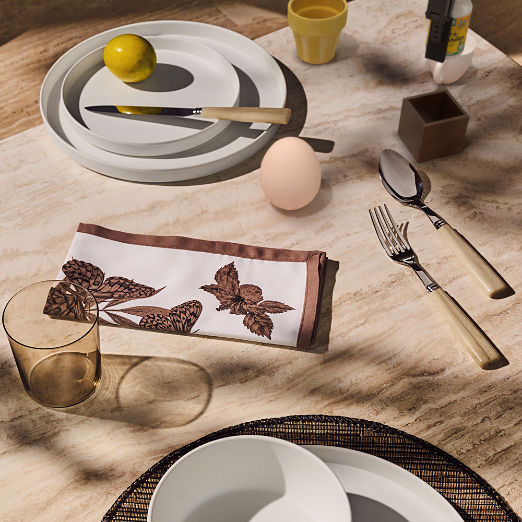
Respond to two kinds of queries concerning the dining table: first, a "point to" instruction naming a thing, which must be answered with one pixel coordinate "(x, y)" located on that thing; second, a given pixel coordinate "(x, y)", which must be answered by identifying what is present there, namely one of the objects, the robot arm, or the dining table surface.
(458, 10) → the supplement bottle
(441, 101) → the brown square planter
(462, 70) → the cup
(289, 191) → the egg
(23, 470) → the dining table surface
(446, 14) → the robot arm
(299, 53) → the flower pot
